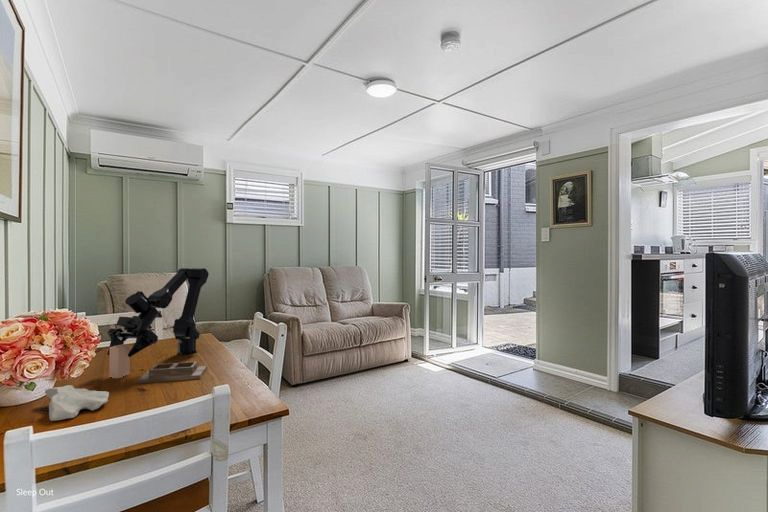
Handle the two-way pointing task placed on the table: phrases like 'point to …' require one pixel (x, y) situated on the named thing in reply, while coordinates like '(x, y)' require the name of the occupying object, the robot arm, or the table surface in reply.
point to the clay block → (119, 361)
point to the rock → (73, 401)
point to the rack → (173, 372)
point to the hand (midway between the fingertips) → (118, 355)
